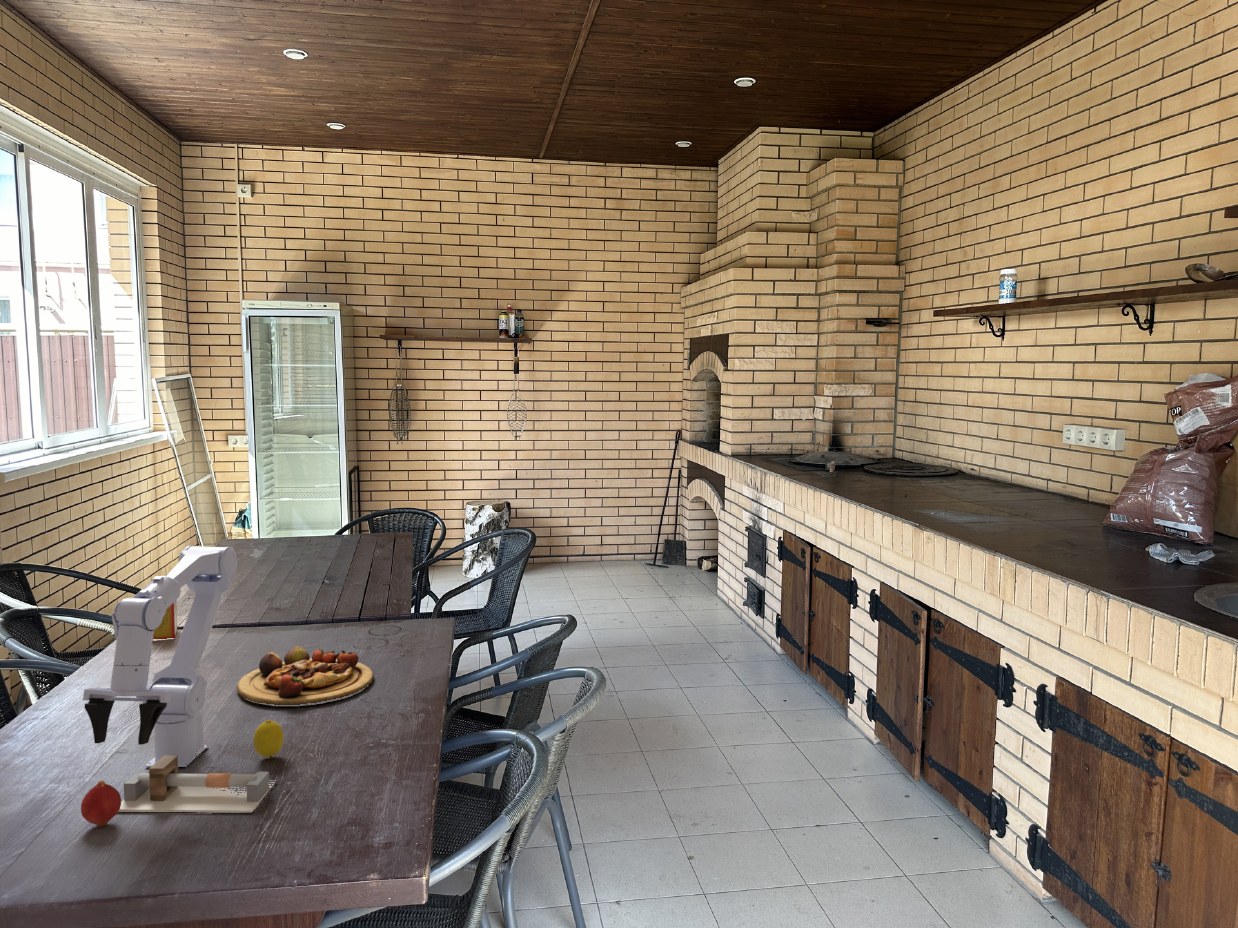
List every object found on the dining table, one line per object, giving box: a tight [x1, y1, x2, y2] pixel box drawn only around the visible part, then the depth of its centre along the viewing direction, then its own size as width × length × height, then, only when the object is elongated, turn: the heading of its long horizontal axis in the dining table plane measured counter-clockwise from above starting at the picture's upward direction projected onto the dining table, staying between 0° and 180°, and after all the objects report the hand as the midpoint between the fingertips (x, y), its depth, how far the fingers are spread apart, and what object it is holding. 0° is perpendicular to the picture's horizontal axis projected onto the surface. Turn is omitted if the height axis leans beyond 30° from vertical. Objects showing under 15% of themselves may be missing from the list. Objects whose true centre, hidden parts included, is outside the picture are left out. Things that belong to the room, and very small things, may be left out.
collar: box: [148, 755, 179, 800], centre depth 149 cm, size 2×5×6 cm, turn 2°
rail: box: [118, 769, 274, 812], centre depth 150 cm, size 24×11×5 cm, turn 92°
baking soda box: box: [153, 599, 178, 639], centre depth 241 cm, size 10×6×16 cm
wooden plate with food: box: [236, 645, 374, 705], centre depth 206 cm, size 32×32×8 cm
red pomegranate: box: [80, 780, 122, 827], centre depth 139 cm, size 6×6×8 cm
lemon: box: [253, 719, 285, 758], centre depth 165 cm, size 6×6×8 cm
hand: (121, 743), depth 147 cm, fingers open, 7 cm apart
